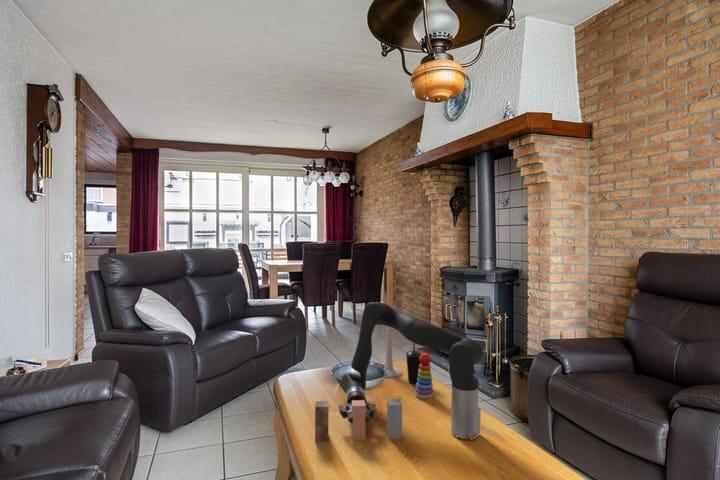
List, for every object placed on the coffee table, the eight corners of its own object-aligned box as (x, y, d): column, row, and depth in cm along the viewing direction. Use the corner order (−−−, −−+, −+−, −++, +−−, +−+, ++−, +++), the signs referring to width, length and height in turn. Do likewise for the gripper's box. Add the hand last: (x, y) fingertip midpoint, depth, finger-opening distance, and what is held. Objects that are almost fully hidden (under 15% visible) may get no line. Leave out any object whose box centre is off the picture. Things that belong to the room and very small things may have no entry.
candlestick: (372, 375, 202) (372, 314, 201) (382, 367, 213) (383, 310, 212) (396, 379, 196) (396, 317, 195) (405, 371, 207) (406, 312, 206)
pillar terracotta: (364, 433, 145) (364, 400, 145) (365, 439, 141) (365, 405, 140) (351, 433, 145) (351, 400, 145) (352, 440, 141) (352, 406, 140)
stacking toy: (432, 401, 172) (432, 357, 171) (413, 398, 175) (413, 355, 174) (434, 393, 180) (435, 351, 179) (416, 391, 182) (417, 349, 182)
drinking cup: (422, 385, 189) (423, 342, 188) (406, 385, 189) (406, 342, 188) (420, 379, 196) (421, 338, 196) (404, 379, 196) (405, 338, 196)
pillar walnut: (328, 434, 144) (328, 401, 144) (328, 441, 140) (328, 406, 140) (315, 434, 144) (315, 401, 144) (315, 441, 140) (315, 407, 139)
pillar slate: (399, 432, 146) (399, 399, 146) (401, 438, 142) (402, 404, 141) (387, 432, 146) (387, 399, 146) (388, 439, 141) (389, 405, 141)
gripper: (337, 390, 156) (338, 410, 139) (374, 389, 157) (379, 409, 140) (337, 409, 157) (338, 432, 140) (374, 408, 158) (379, 430, 141)
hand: (359, 420), depth 140 cm, fingers closed on pillar terracotta, 4 cm apart
